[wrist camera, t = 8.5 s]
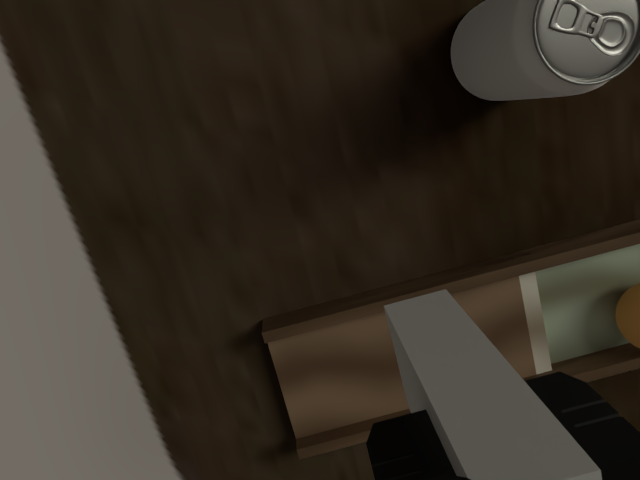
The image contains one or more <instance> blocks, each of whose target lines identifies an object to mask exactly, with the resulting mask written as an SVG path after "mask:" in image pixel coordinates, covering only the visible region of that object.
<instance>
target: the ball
mask: <svg viewBox="0 0 640 480" xmlns="http://www.w3.org/2000/svg"><path fill="white" fill-rule="evenodd" d="M615 316H616V322H617V326H618V328H619V330H620V332H621V333H622V335H623V336H624V337H625V338H626V339H627V340H628V341H629V342H630V343H631V344H633V345H634V346H636V347H638V348H640V283H639V284H636V285H634V286H632V287H631V288H629V289H628V290H627V291H626V292H625V293H624V294H623V295H622V296H621V298H620V299H619V301H618V304H617V307H616V315H615Z"/></svg>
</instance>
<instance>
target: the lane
mask: <svg viewBox="0 0 640 480" xmlns="http://www.w3.org/2000/svg"><path fill="white" fill-rule="evenodd" d="M639 283H640V219H639V220H635V221H631V222H628V223H624V224H620V225H616V226H613V227H609V228H605V229H601V230H597V231H594V232H590V233H586V234H582V235H579V236H575V237H571V238H567V239H564V240H560V241H556V242H552V243H548V244H545V245H541V246H537V247H533V248H530V249H526V250H522V251H518V252H515V253H511V254H507V255H503V256H500V257H496V258H492V259H488V260H484V261H481V262H477V263H473V264H469V265H466V266H462V267H458V268H454V269H451V270H447V271H443V272H439V273H436V274H432V275H428V276H424V277H420V278H417V279H413V280H409V281H405V282H402V283H398V284H394V285H390V286H387V287H383V288H379V289H375V290H372V291H368V292H364V293H360V294H356V295H353V296H349V297H345V298H341V299H338V300H334V301H330V302H326V303H323V304H319V305H315V306H311V307H308V308H304V309H300V310H296V311H292V312H289V313H285V314H281V315H277V316H274V317H270V318H266V319H263V323H262V336H263V339H264V343H268V346H269V350H270V353H271V357H272V360H273V363H274V367H275V370H276V373H277V377H278V380H279V384H280V387H281V390H282V394H283V397H284V400H285V404H286V407H287V410H288V414H289V417H290V421H291V424H292V427H293V431H294V434H295V437H296V450H297V453H298V457H299V460H300V459H303V458H307V457H311V456H315V455H318V454H322V453H326V452H329V451H333V450H337V449H341V448H344V447H348V446H352V445H355V444H359V443H363V442H367V440H368V437H369V434H370V431H371V428H372V425H373V423H377V422H380V421H384V420H388V419H391V418H395V417H399V416H403V415H406V414H410V413H411V412H410V410H409V407H408V403H407V399H406V395H405V391H404V387H403V383H402V379H401V375H400V371H399V367H398V363H397V358H396V354H395V350H394V346H393V342H392V338H391V334H390V330H389V326H388V322H387V318H386V314H385V309H384V306H385V305H388V304H392V303H396V302H399V301H403V300H407V299H411V298H414V297H418V296H422V295H426V294H429V293H433V292H437V291H441V290H444V289H446V290H447V291H448V292H449V293H450V295H451V296H452V297H453V298H454V299H455V300H456V302H457V303H458V304H459V305H460V306H461V307H462V309H463V310H464V311H465V312H466V313H467V314H468V316H469V317H470V318H471V319H472V320H473V321H474V323H475V324H476V325H477V326H478V327H479V328H480V330H481V331H482V332H483V333H484V334H485V335H486V337H487V338H488V339H489V340H490V341H491V342H492V344H493V345H494V346H495V347H496V348H497V349H498V351H499V352H500V353H501V354H502V355H503V357H504V358H505V359H506V360H507V361H508V362H509V364H510V365H511V366H512V367H513V368H514V369H515V371H516V372H517V373H518V374H519V375H520V376H521V378H522V379H523V380H524V381H526V380H529V379H533V378H537V377H541V376H544V375H548V374H552V373H555V372H559V371H560V372H563V373H565V374H567V375H570V376H572V377H574V378H577V379H579V380H582V381H584V382H590V381H594V380H598V379H601V378H605V377H609V376H612V375H616V374H620V373H624V372H627V371H631V370H635V369H638V368H640V348H638V347H636V346H634V345H633V344H631V343H630V342H629V341H628V340H627V339H626V338H625V337H624V336H623V335H622V333H621V332H620V330H619V328H618V326H617V322H616V316H615V315H616V307H617V304H618V301H619V299H620V298H621V296H622V295H623V294H624V293H625V292H626V291H627V290H628V289H629V288H631V287H632V286H634V285H636V284H639Z"/></svg>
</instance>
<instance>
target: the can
mask: <svg viewBox="0 0 640 480" xmlns="http://www.w3.org/2000/svg"><path fill="white" fill-rule="evenodd" d="M639 54H640V0H486V1H484V2H482V3H481V4H479V5H478V6H476V7H475V8H473V9H472V10H471V11H470V12H468V13H467V14H466V15H465V17H464V18H463V19H462V20H461V22H460V23H459V25H458V27H457V28H456V31H455V33H454V36H453V39H452V44H451V62H452V67H453V70H454V73H455V75H456V77H457V79H458V80H459V82H460V83H461V85H462V86H463V87H464V88H465V89H466V90H467V91H469V92H470V93H471V94H473V95H475V96H477V97H479V98H482V99H485V100H491V101H506V100H521V99H536V98H549V97H561V96H571V95H578V94H582V93H586V92H589V91H592V90H594V89H596V88H598V87H600V86H602V85H604V84H605V83H607V82H608V81H609V80H611V79H613V78H615V77H617V76H618V75H620V74H621V73H622V72H624V71H625V70H626V69H627V68H628V67H629V66H630V65H631V64H632V63H633V62H634V61H635V59H636V58H637V57H638V55H639Z"/></svg>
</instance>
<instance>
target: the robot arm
mask: <svg viewBox="0 0 640 480" xmlns="http://www.w3.org/2000/svg"><path fill="white" fill-rule="evenodd" d="M384 309H385V314H386V318H387V322H388V326H389V330H390V334H391V338H392V342H393V346H394V350H395V354H396V358H397V363H398V367H399V371H400V375H401V379H402V383H403V387H404V391H405V395H406V399H407V403H408V407H409V410H410V412H411V413H410V414H406V415H403V416H399V417H395V418H391V419H388V420H384V421H380V422H377V423H373V425H372V428H371V431H370V434H369V437H368V440H367V443H366V444H367V448H368V453H369V457H370V461H371V465H372V469H373V473H374V477H375V480H640V433H639V432H638V431H637V430H636V429H635V428H634V427H633V426H632V425H631V424H630V423H629V422H628V421H627V420H626V419H624V418H623V417H620V416H619V413H618V412H617V411H616V410H615V409H614V408H613V407H612V406H611V405H610V404H608V403H607V402H606V403H605V402H604V399H603V398H602V397H601V396H600V395H599V394H598V393H597V392H596V391H595V390H594V389H592V388H591V387H590V386H589V385H588V384H587V383H586V382H584V381H582V380H579V379H577V378H574V377H572V376H570V375H567V374H565V373H563V372H560V371H559V372H555V373H552V374H548V375H544V376H541V377H537V378H533V379H529V380H526V381H524V380H523V379H522V378H521V376H520V375H519V374H518V373H517V372H516V371H515V369H514V368H513V367H512V366H511V365H510V364H509V362H508V361H507V360H506V359H505V358H504V357H503V355H502V354H501V353H500V352H499V351H498V349H497V348H496V347H495V346H494V345H493V344H492V342H491V341H490V340H489V339H488V338H487V337H486V335H485V334H484V333H483V332H482V331H481V330H480V328H479V327H478V326H477V325H476V324H475V323H474V321H473V320H472V319H471V318H470V317H469V316H468V314H467V313H466V312H465V311H464V310H463V309H462V307H461V306H460V305H459V304H458V303H457V302H456V300H455V299H454V298H453V297H452V296H451V295H450V293H449V292H448V291H447V290H446V289H444V290H441V291H437V292H433V293H429V294H426V295H422V296H418V297H414V298H411V299H407V300H403V301H399V302H396V303H392V304H388V305H385V306H384Z"/></svg>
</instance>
